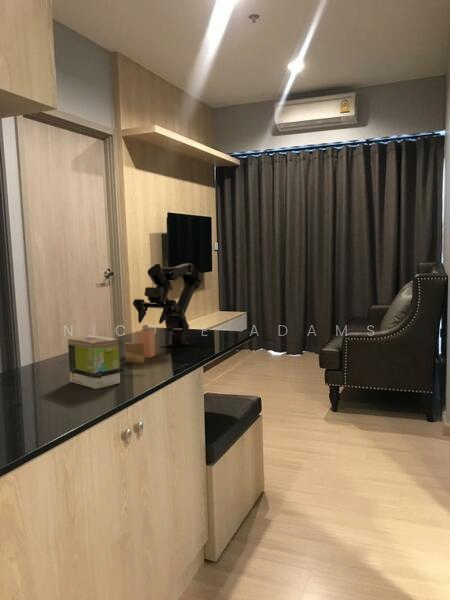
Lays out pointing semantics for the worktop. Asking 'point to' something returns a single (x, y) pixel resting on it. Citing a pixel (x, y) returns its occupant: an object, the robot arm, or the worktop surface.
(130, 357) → the track
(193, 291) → the robot arm
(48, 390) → the worktop surface
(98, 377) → the tea box
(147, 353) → the slider
